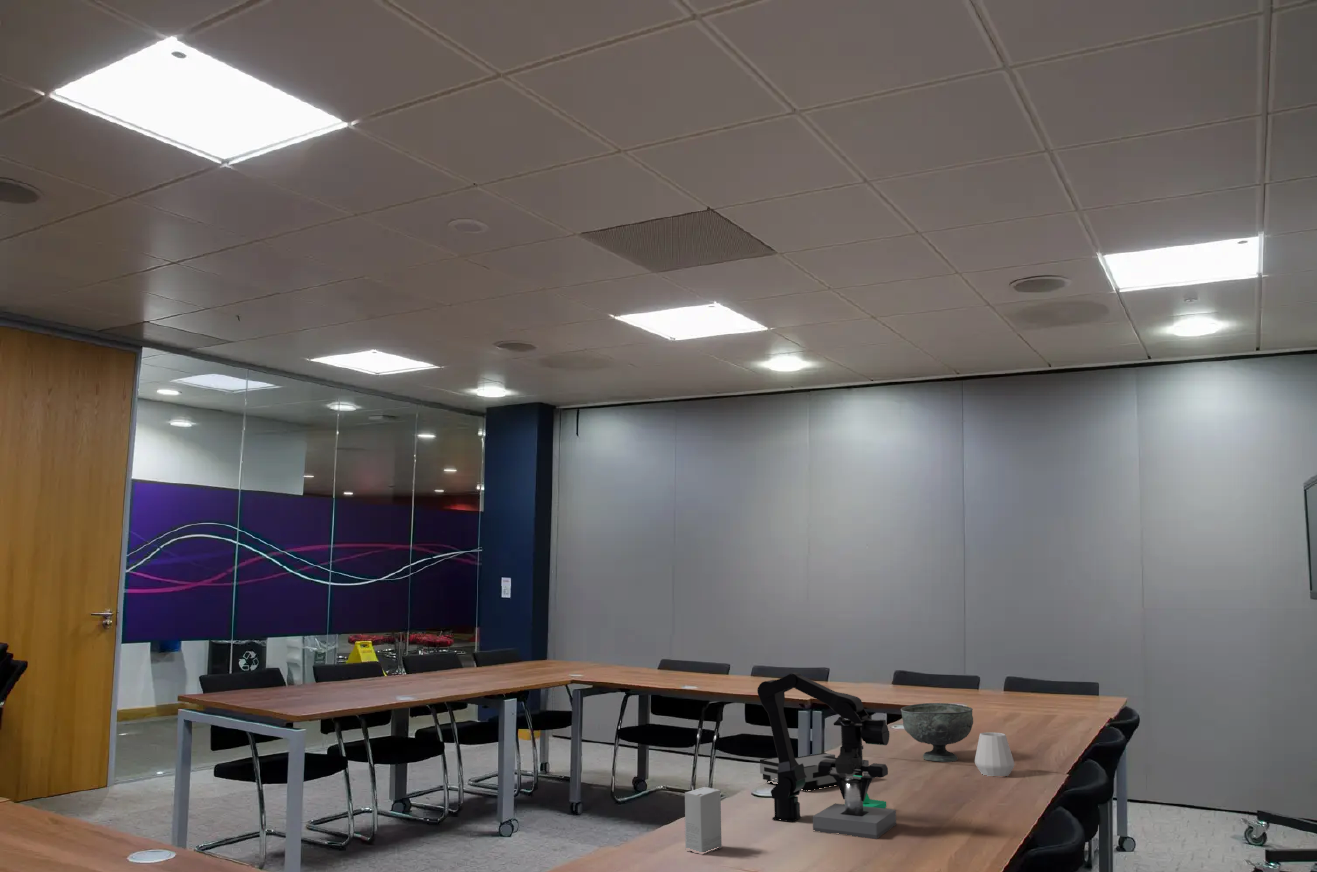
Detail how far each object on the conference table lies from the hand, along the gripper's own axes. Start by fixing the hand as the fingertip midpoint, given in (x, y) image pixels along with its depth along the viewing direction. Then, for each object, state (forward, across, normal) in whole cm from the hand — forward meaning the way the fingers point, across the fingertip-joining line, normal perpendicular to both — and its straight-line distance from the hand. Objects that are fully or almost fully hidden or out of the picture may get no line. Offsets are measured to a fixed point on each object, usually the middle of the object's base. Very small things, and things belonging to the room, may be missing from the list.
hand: (853, 800), depth 274 cm
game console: (+8, -33, +56) cm, 65 cm away
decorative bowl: (+8, -6, +118) cm, 118 cm away
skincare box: (+8, -27, -40) cm, 49 cm away
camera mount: (+8, -3, +20) cm, 22 cm away
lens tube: (+4, 0, 0) cm, 4 cm away
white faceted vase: (+8, +19, +96) cm, 98 cm away
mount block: (+7, 0, 0) cm, 7 cm away
